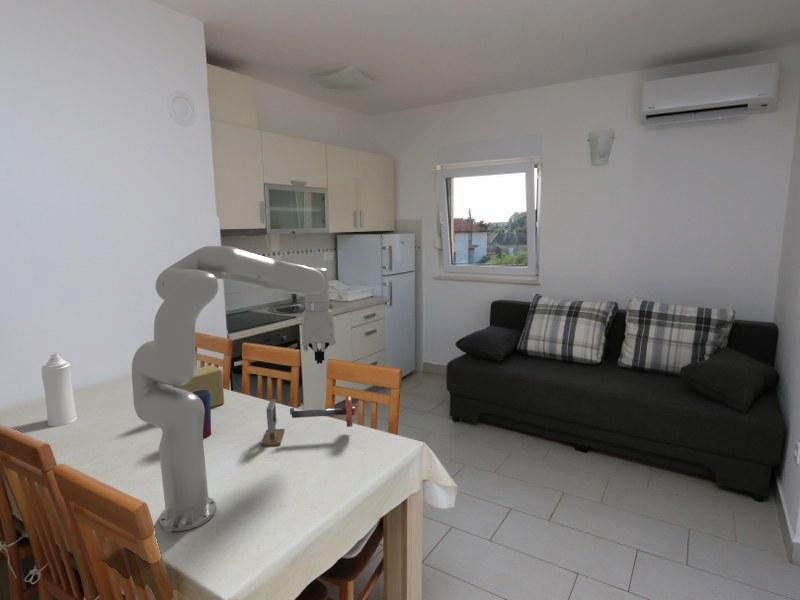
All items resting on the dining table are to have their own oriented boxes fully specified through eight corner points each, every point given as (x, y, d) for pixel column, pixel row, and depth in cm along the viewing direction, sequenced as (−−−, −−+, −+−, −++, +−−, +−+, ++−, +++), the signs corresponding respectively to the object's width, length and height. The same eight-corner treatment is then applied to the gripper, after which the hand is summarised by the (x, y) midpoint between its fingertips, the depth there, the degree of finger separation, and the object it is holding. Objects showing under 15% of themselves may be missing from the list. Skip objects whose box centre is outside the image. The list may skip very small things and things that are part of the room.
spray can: (36, 423, 168) (26, 356, 164) (65, 412, 178) (56, 348, 174) (59, 427, 164) (49, 359, 160) (88, 415, 174) (79, 350, 170)
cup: (206, 440, 152) (202, 397, 150) (187, 439, 154) (183, 395, 151) (218, 431, 159) (214, 389, 156) (200, 430, 160) (196, 388, 158)
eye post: (280, 445, 148) (278, 409, 146) (261, 446, 148) (258, 410, 146) (284, 431, 158) (282, 397, 156) (266, 432, 157) (264, 398, 155)
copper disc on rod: (356, 431, 150) (355, 402, 148) (289, 435, 148) (287, 406, 146) (355, 418, 160) (354, 391, 158) (293, 422, 158) (291, 394, 156)
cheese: (170, 424, 165) (166, 384, 163) (156, 418, 171) (152, 379, 169) (225, 404, 183) (222, 367, 181) (211, 399, 189) (208, 363, 186)
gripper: (291, 309, 143) (294, 367, 146) (340, 308, 144) (342, 365, 147) (295, 305, 150) (297, 360, 153) (341, 304, 152) (343, 358, 155)
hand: (319, 362), depth 150 cm, fingers closed
